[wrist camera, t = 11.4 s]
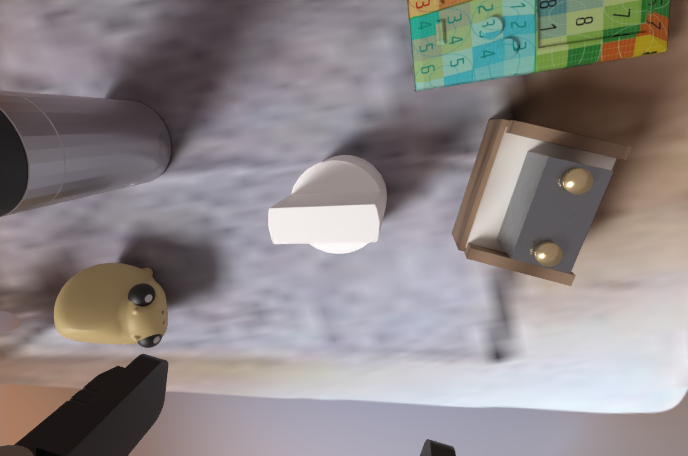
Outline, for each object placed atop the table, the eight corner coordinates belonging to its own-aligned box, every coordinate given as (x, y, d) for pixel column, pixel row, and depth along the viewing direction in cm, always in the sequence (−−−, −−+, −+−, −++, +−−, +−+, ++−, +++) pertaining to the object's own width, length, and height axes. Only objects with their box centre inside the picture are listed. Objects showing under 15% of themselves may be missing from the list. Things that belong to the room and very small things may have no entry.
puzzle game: (402, -64, 31) (687, -130, 27) (402, -41, 35) (647, -94, 32) (415, 89, 34) (674, 49, 30) (414, 93, 38) (640, 58, 34)
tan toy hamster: (195, 328, 49) (140, 381, 39) (111, 317, 51) (37, 366, 41) (189, 256, 47) (129, 294, 37) (101, 248, 48) (20, 281, 38)
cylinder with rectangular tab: (385, 152, 40) (376, 164, 28) (388, 235, 42) (382, 277, 31) (301, 157, 41) (261, 170, 30) (309, 237, 44) (274, 278, 32)
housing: (527, 151, 32) (552, 157, 27) (582, 163, 32) (619, 172, 26) (496, 239, 34) (513, 262, 29) (547, 252, 34) (574, 277, 28)
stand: (451, 233, 41) (461, 257, 34) (489, 119, 37) (508, 118, 30) (546, 257, 40) (576, 287, 33) (593, 143, 37) (639, 148, 29)
